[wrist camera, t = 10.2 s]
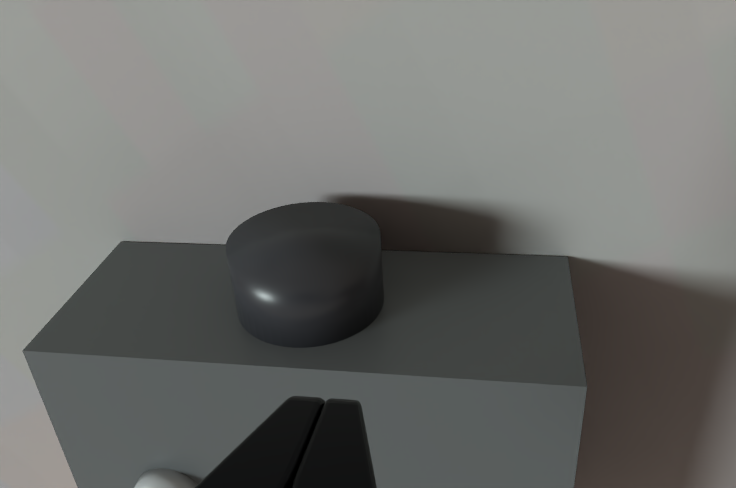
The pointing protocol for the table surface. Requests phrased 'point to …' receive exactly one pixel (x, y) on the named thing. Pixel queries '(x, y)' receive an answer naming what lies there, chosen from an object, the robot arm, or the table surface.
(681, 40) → the table surface
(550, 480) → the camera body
